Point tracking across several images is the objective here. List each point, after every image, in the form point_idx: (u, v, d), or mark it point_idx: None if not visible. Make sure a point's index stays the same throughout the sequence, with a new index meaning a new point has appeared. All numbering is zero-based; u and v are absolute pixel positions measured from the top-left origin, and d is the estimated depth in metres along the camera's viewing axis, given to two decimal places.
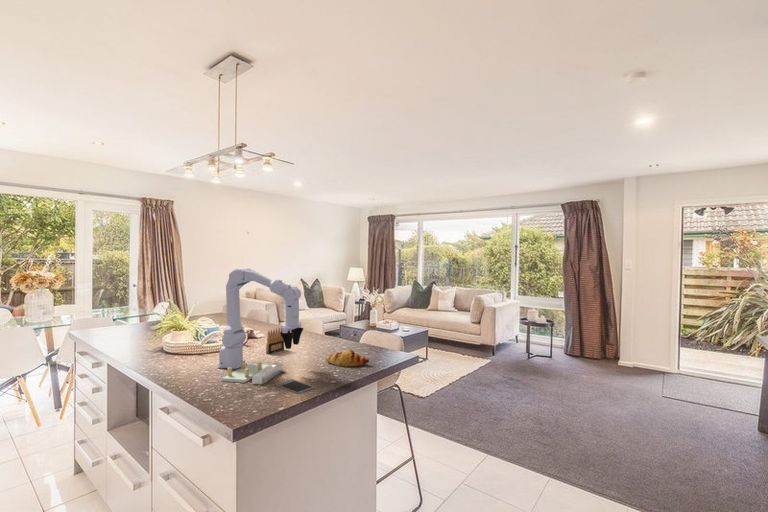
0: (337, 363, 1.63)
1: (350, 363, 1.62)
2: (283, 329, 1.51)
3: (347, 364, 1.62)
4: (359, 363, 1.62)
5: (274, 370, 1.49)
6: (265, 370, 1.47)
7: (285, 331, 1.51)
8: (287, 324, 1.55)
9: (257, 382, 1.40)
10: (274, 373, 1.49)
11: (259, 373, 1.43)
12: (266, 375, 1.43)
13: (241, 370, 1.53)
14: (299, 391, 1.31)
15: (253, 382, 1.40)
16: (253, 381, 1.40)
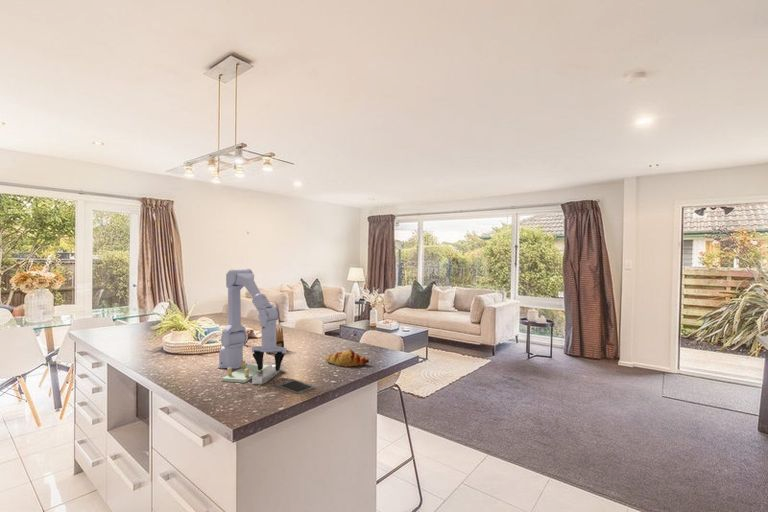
0: (337, 363, 1.63)
1: (350, 363, 1.62)
2: None
3: (347, 364, 1.62)
4: (359, 363, 1.62)
5: (274, 370, 1.49)
6: (265, 370, 1.47)
7: None
8: None
9: (257, 382, 1.40)
10: (274, 373, 1.49)
11: (259, 373, 1.43)
12: (266, 375, 1.43)
13: (241, 370, 1.53)
14: (299, 391, 1.31)
15: (253, 382, 1.40)
16: (253, 381, 1.40)
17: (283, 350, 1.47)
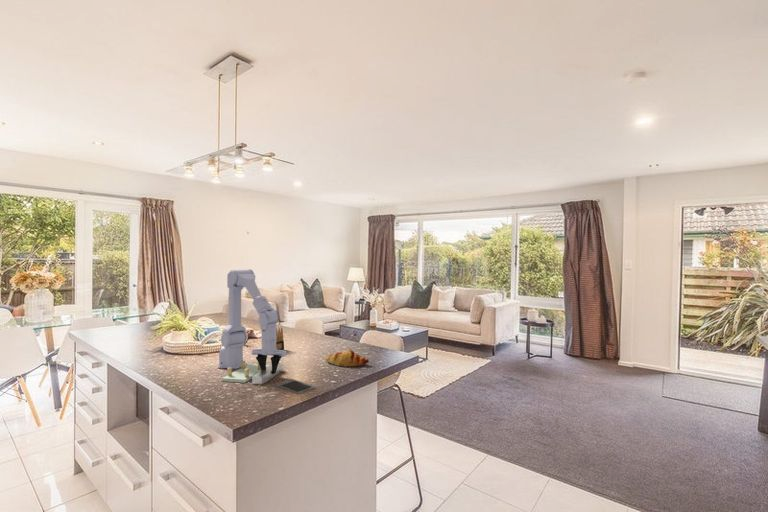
0: (337, 363, 1.63)
1: (350, 363, 1.62)
2: None
3: (346, 364, 1.62)
4: (358, 363, 1.62)
5: None
6: (265, 370, 1.47)
7: None
8: None
9: (257, 382, 1.40)
10: None
11: (259, 373, 1.43)
12: (266, 375, 1.43)
13: (241, 370, 1.53)
14: (299, 391, 1.31)
15: (253, 382, 1.40)
16: (253, 381, 1.40)
17: (283, 353, 1.47)
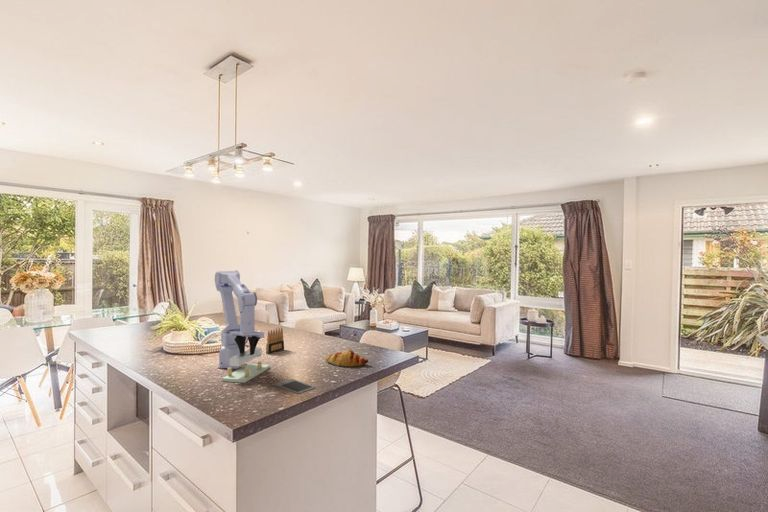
0: (336, 363, 1.63)
1: (349, 363, 1.61)
2: None
3: (346, 364, 1.61)
4: (358, 363, 1.62)
5: None
6: (243, 353, 1.50)
7: None
8: None
9: (234, 364, 1.43)
10: (252, 356, 1.52)
11: (237, 356, 1.46)
12: (244, 358, 1.46)
13: (241, 370, 1.53)
14: (299, 391, 1.31)
15: (230, 364, 1.43)
16: (230, 363, 1.43)
17: (261, 334, 1.50)
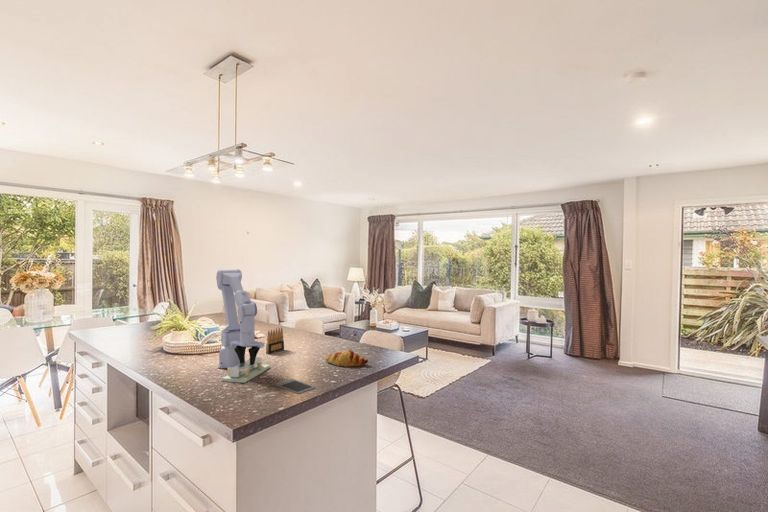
0: (336, 363, 1.63)
1: (349, 363, 1.61)
2: None
3: (346, 364, 1.61)
4: (358, 363, 1.62)
5: (253, 364, 1.53)
6: (243, 363, 1.50)
7: None
8: None
9: (234, 375, 1.43)
10: (252, 366, 1.52)
11: (237, 366, 1.46)
12: (244, 368, 1.46)
13: None
14: (299, 391, 1.31)
15: (230, 375, 1.43)
16: (230, 374, 1.43)
17: (261, 345, 1.50)
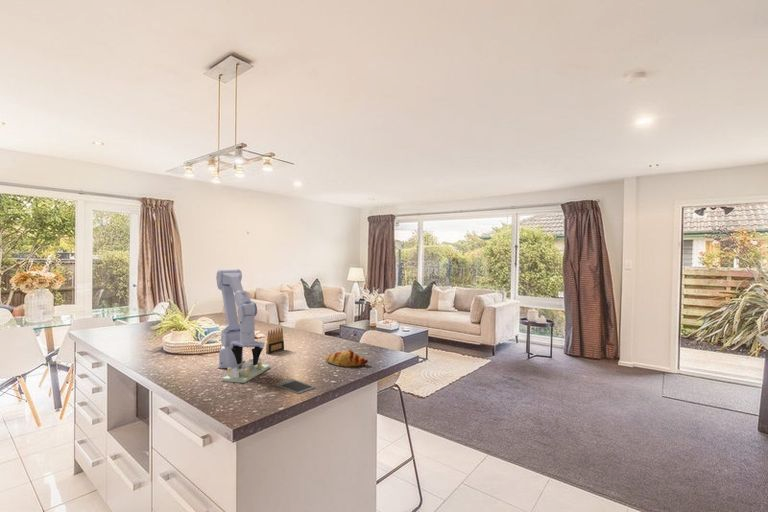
0: (336, 363, 1.63)
1: (349, 363, 1.61)
2: None
3: (345, 364, 1.61)
4: (357, 363, 1.61)
5: (253, 365, 1.53)
6: (243, 365, 1.50)
7: None
8: None
9: (234, 376, 1.43)
10: (252, 368, 1.52)
11: (237, 368, 1.46)
12: (244, 370, 1.46)
13: None
14: (299, 391, 1.31)
15: (230, 376, 1.43)
16: (230, 375, 1.43)
17: (261, 345, 1.50)
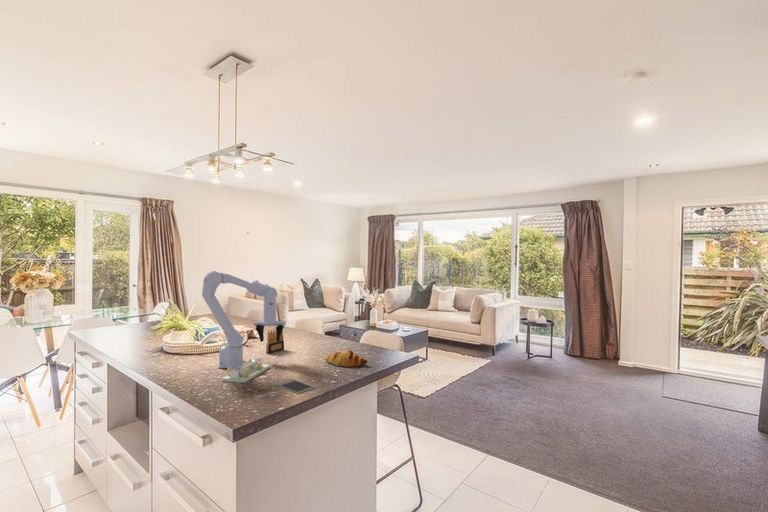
0: (335, 363, 1.63)
1: (348, 363, 1.61)
2: None
3: (345, 364, 1.61)
4: (357, 364, 1.61)
5: (253, 365, 1.53)
6: (243, 365, 1.50)
7: None
8: None
9: (234, 376, 1.43)
10: (252, 368, 1.52)
11: (237, 368, 1.46)
12: (244, 370, 1.46)
13: None
14: (299, 391, 1.31)
15: (230, 376, 1.43)
16: (230, 375, 1.43)
17: (283, 323, 1.69)
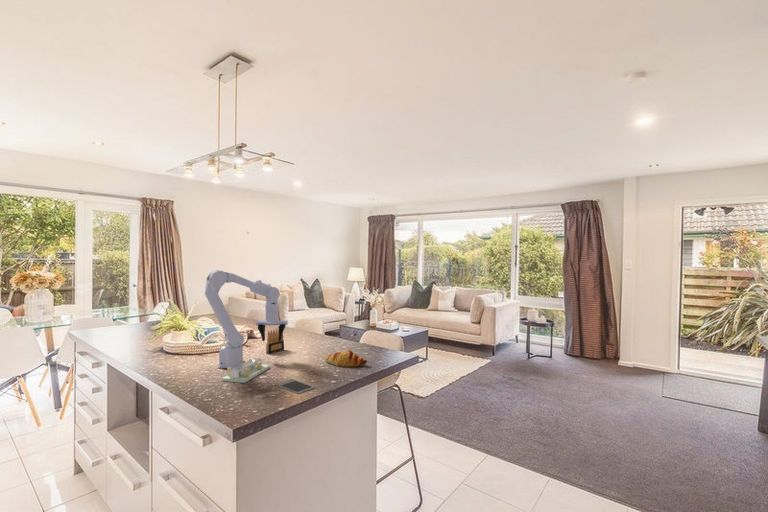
0: (335, 363, 1.63)
1: (348, 363, 1.61)
2: None
3: (345, 364, 1.61)
4: (357, 364, 1.61)
5: (253, 365, 1.53)
6: (243, 365, 1.50)
7: None
8: None
9: (234, 376, 1.43)
10: (252, 368, 1.52)
11: (237, 368, 1.46)
12: (244, 370, 1.46)
13: None
14: (299, 391, 1.31)
15: (230, 376, 1.43)
16: (230, 375, 1.43)
17: (286, 322, 1.72)
